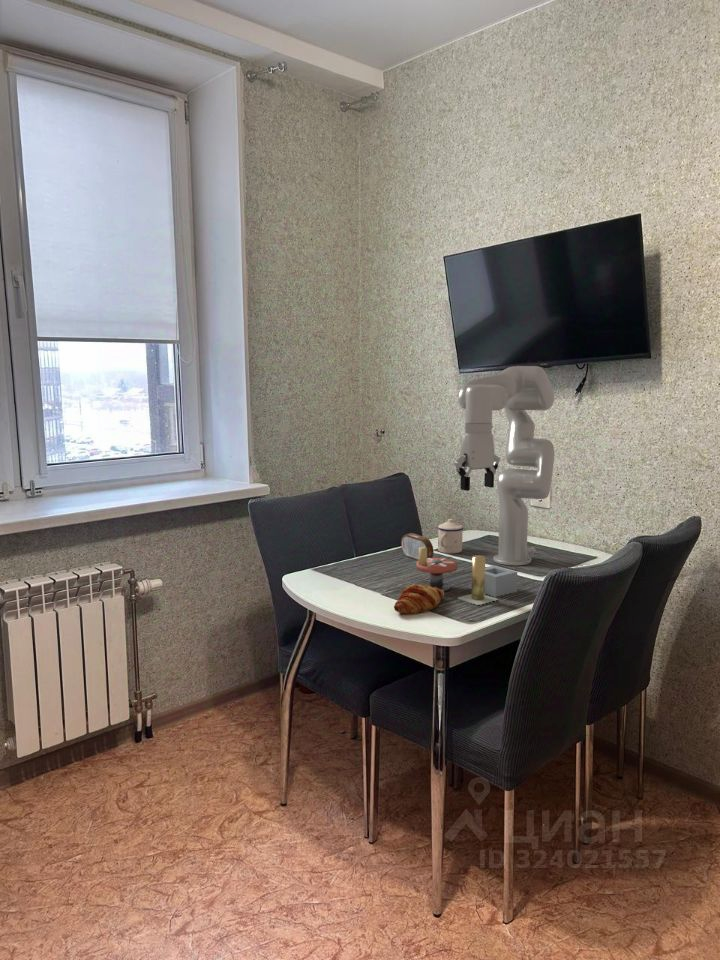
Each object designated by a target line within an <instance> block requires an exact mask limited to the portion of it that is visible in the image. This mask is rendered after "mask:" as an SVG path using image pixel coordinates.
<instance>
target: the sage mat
mask: <svg viewBox="0 0 720 960" xmlns="http://www.w3.org/2000/svg"><path fill="white" fill-rule="evenodd" d="M457 599H458V600H459V601H463V602H465V603H468V604H471V603H472V605H473V604H475V605H474V606H476V605H480V606H483V605H482V604H484V605H486V604H485V603H488V604H490V603H489V602H491V603H493V602H492V601H495V602H497V601H496V600H498V601H499V599H498V598H497V597H492V596H489V595H486V594H485V599H484V600H473V599H472V593H471V594H466V595H462V596H459V597H457Z"/></svg>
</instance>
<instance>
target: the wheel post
mask: <svg viewBox="0 0 720 960" xmlns="http://www.w3.org/2000/svg"><path fill="white" fill-rule="evenodd" d="M423 585H429V586H431V587H433V588H434V587H437V588H438V589H440V590H443V591H444V593H446V592H449V591H451V585H450V584H448V583H446V582H444V573H429V581H428V582H426V583H423Z"/></svg>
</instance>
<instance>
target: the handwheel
mask: <svg viewBox="0 0 720 960" xmlns="http://www.w3.org/2000/svg"><path fill="white" fill-rule="evenodd" d="M415 565H416V566H415V567H416V569H417V570H418V571H420V572H423V573H429V574H430V573H443V574H447V573H448V574H449V573H454V572H456V571H457V570H458V562H457V561H455V560H453V559H450V558H444V557H441V558H440V557H432V558H427V548H426V547H419V560H416V564H415Z"/></svg>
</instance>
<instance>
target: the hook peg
mask: <svg viewBox="0 0 720 960" xmlns="http://www.w3.org/2000/svg"><path fill="white" fill-rule="evenodd" d="M471 557H472V559H471V564H472V565H471V594H472V599H473V600H484V599H485V595H486V594H485V567H486V556H485V555H481V554H480V555H479V554H478V555H472V556H471Z"/></svg>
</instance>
